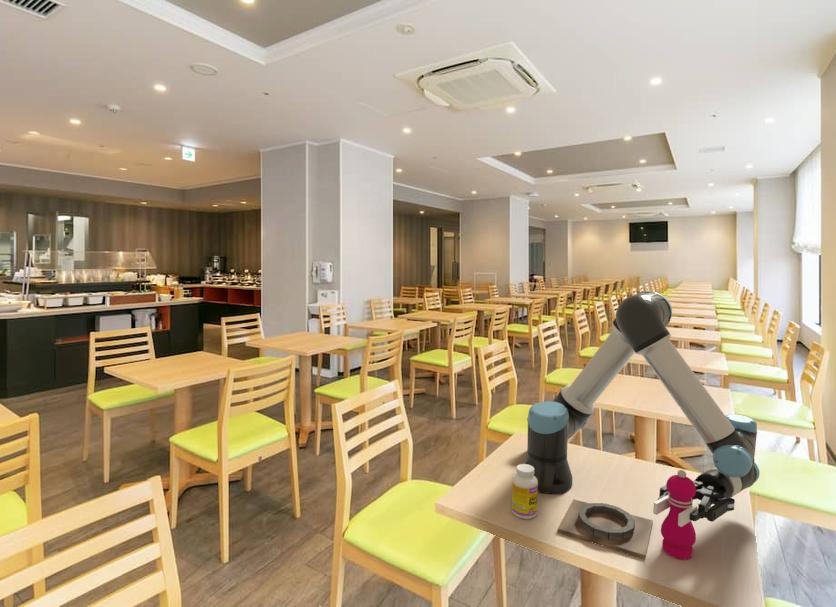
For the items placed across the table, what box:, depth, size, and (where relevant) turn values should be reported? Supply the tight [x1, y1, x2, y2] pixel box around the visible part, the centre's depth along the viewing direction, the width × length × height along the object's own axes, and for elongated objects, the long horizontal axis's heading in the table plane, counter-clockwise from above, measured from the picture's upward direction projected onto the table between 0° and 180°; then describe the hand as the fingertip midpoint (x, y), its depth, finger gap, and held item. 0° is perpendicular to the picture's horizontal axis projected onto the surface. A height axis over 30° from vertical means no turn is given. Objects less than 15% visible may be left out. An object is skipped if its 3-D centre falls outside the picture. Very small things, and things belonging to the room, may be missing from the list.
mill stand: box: [557, 498, 654, 560], centre depth 119 cm, size 20×16×3 cm
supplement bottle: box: [511, 463, 538, 520], centre depth 126 cm, size 7×7×13 cm
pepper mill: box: [660, 469, 697, 560], centre depth 109 cm, size 7×7×20 cm
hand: (667, 514), depth 106 cm, fingers closed on pepper mill, 5 cm apart
